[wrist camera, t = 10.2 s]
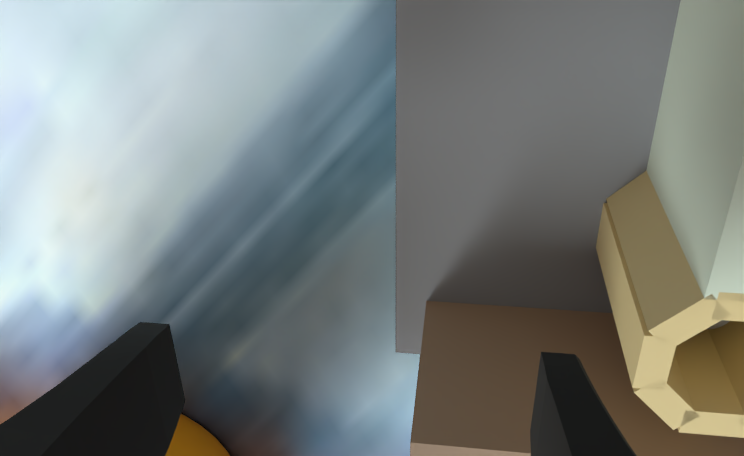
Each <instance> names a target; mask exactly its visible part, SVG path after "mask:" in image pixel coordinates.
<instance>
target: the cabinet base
mask: <svg viewBox="0 0 744 456" xmlns="http://www.w3.org/2000/svg"><path fill="white" fill-rule="evenodd" d="M680 1H681V0H396V352H400V353H413V354H420V362H419V371H418V380H417V389H416V398H415V407H414V415H413V424H412V433H411V442H410V456H531V442H530V429H531V421H532V414H533V407H534V399H535V392H536V385H537V377H538V370H539V363H540V356H541V352H552V353H565V354H575V355H576V356H577V357H578V358H579V359H580V361H581V363H582V365H583V367H584V369H585V371H586V373H587V375H588V377H589V379H590V381H591V383H592V384H593V386H594V388H595V390H596V392H597V394H598V395H599V397H600V399H601V400H602V402H603V404H604V406H605V407H606V409H607V411H608V412H609V414H610V416H611V417H612V419H613V421H614V422H615V424H616V425H617V427H618V428H619V430H620V431H621V433H622V434H623V436H624V438H625V439H626V441H627V442H628V444H629V445H630V447H631V448H632V450H633V451H634V453H635V454H636V456H744V438H739V437H727V436H716V435H704V434H692V433H680V432H679V431H678V428H677V429H675V430H673V429H672V428H671V427H669V426H668V425H667V424H666V423H665V422H664V421H663V420H662V419H661V418H660V417H659V416H658V415H657V414H656V413H655V412H654V411H653V410H652V409H651V408H650V407H649V406H647V405H646V404H645V403H644V402H643V401H642V400H641V399H640V398H639V397H638V396H637V395H636V394H635V393H634V391H633V388H632V385H631V381H630V377H629V373H628V369H627V365H626V362H625V358H624V354H623V350H622V346H621V342H620V338H619V335H618V331H617V327H616V323H615V319H614V315H613V311H612V308H611V304H610V300H609V296H608V292H607V288H606V285H605V281H604V277H603V273H602V269H601V265H600V261H599V258H598V254H597V250H596V243H597V237H598V231H599V226H600V220H601V214H602V208H603V203H607V200H606V199H607V198H608V197H610V196H611V195H612V194H614V193H615V192H617V191H618V190H619V189H621V188H622V187H624V186H625V185H627V184H628V183H629V182H631V181H632V180H634V179H635V178H637V177H638V176H639V175H641V174H642V173H644V172H645V171H646V170H647V165H648V160H649V155H650V150H651V145H652V140H653V135H654V130H655V125H656V120H657V115H658V110H659V105H660V100H661V95H662V90H663V85H664V81H665V76H666V71H667V66H668V61H669V56H670V51H671V46H672V41H673V36H674V31H675V26H676V21H677V16H678V11H679V6H680ZM728 322H729V321H727V320H721V321H719V322H718V323H716V324H714V325H712V326H711V327H709V328H707V329H715V328H719V327H721V326H723V325H725V324H727V323H728Z"/></svg>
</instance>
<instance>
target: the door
mask: <svg viewBox="0 0 744 456" xmlns="http://www.w3.org/2000/svg"><path fill="white" fill-rule="evenodd" d="M606 200H607V203H603V208H602V214H601V220H600V226H599V231H598V237H597V243H596V250H597V254H598V258H599V261H600V265H601V269H602V273H603V277H604V281H605V285H606V288H607V292H608V296H609V300H610V304H611V308H612V311H613V315H614V319H615V323H616V327H617V331H618V335H619V338H620V342H621V346H622V350H623V354H624V358H625V362H626V365H627V369H628V373H629V377H630V381H631V385H632V388H633V391H634V393H635V394H636V395H637V396H638V397H639V398H640V399H641V400H642V401H643V402H644V403H645V404H646V405H647V406H649V407H650V408H651V409H652V410H653V411H654V412H655V413H656V414H657V415H658V416H659V417H660V418H661V419H662V420H663V421H664V422H665V423H666V424H667V425H668V426H669V427H671V428H672V429H673V430H675V429H677V428H678V431H679V432H680V433H692V434H704V435H716V436H727V437H739V438H744V0H681V1H680V6H679V11H678V16H677V21H676V26H675V31H674V36H673V41H672V46H671V51H670V56H669V61H668V66H667V71H666V76H665V81H664V85H663V90H662V95H661V100H660V105H659V110H658V115H657V120H656V125H655V130H654V135H653V140H652V145H651V150H650V155H649V160H648V165H647V170H646V171H645V172H644V173H642V174H641V175H639V176H638V177H637V178H635V179H634V180H632V181H631V182H629V183H628V184H627V185H625V186H624V187H622V188H621V189H619V190H618V191H617V192H615V193H614V194H612V195H611V196H610V197H608V198H607V199H606ZM721 320H727V321H729V322H728V323H727V324H725V325H723V326H721V327H719V328H715V329H707V328H709V327H711V326H712V325H714V324H716V323H718V322H719V321H721Z"/></svg>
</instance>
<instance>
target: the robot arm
mask: <svg viewBox="0 0 744 456" xmlns="http://www.w3.org/2000/svg"><path fill="white" fill-rule="evenodd" d="M184 403H185V398H184V393H183V388H182V384H181V379H180V374H179V369H178V364H177V359H176V354H175V349H174V344H173V340H172V335H171V330H170V325H169V324H158V323H144V322H140V323H138V324H137V325H136V326H134V327H133V328H131V329H130V330H129V331H127V332H126V333H125V334H123V335H122V336H121V337H120V338H118V339H117V340H116V341H114V342H113V343H112V344H110V345H109V346H108V347H107V348H105V349H104V350H103V351H101V352H100V353H99V354H98V355H96V356H95V357H94V358H92V359H91V360H90V361H89V362H87V363H86V364H85V365H83V366H82V367H81V368H79V369H78V370H77V371H75V372H74V373H73V374H71V375H70V376H69V377H67V378H66V379H65V380H64V381H62V382H61V383H60V384H58V385H57V386H56V387H54V388H53V389H51V390H50V391H48V392H47V393H46V394H44V395H43V396H41V397H40V398H38V399H37V400H36V401H34V402H33V403H31V404H30V405H28V406H27V407H25V408H24V409H23V410H21V411H20V412H18V413H17V414H15V415H14V416H13V417H11V418H10V419H8V420H7V421H5V422H4V423H2V424H0V456H165V455H166V453H167V450H168V448H169V446H170V443H171V440H172V438H173V435H174V432H175V430H176V427H177V424H178V421H179V418H180V415H181V412H182V409H183V406H184ZM530 442H531V456H636V454H635V453H634V451H633V450H632V448H631V447H630V445H629V444H628V442H627V441H626V439H625V438H624V436H623V434H622V433H621V431H620V430H619V428H618V427H617V425H616V424H615V422H614V421H613V419H612V417H611V416H610V414H609V412H608V411H607V409H606V407H605V406H604V404H603V402H602V400H601V399H600V397H599V395H598V394H597V392H596V390H595V388H594V386H593V384H592V383H591V381H590V379H589V377H588V375H587V373H586V371H585V369H584V367H583V365H582V363H581V361H580V359H579V358H578V357H577V356H576V355H575V354H565V353H552V352H541V356H540V363H539V370H538V377H537V385H536V392H535V399H534V407H533V414H532V421H531V429H530Z"/></svg>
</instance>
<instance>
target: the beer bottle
mask: <svg viewBox="0 0 744 456" xmlns="http://www.w3.org/2000/svg"><path fill="white" fill-rule="evenodd" d="M165 456H230V455H229V453H228V452H227V450H226V449H225V448H224V447H223V446H222V444H221V443H220V442H219V441H218V440H217V439H216V438H215V437H214V436H213V435H212V434H211V433H209V432H208V431H207V430H206V429H205V428H203V427H202V426H201V425H199V424H198V423H196V422H194V421H193V420H191V419H190V418H188V417H187V416H185V415H183V414H181V415H180V418H179V421H178V424H177V427H176V430H175V432H174V435H173V438H172V440H171V443H170V446H169V448H168V450H167V453H166V455H165Z"/></svg>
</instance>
